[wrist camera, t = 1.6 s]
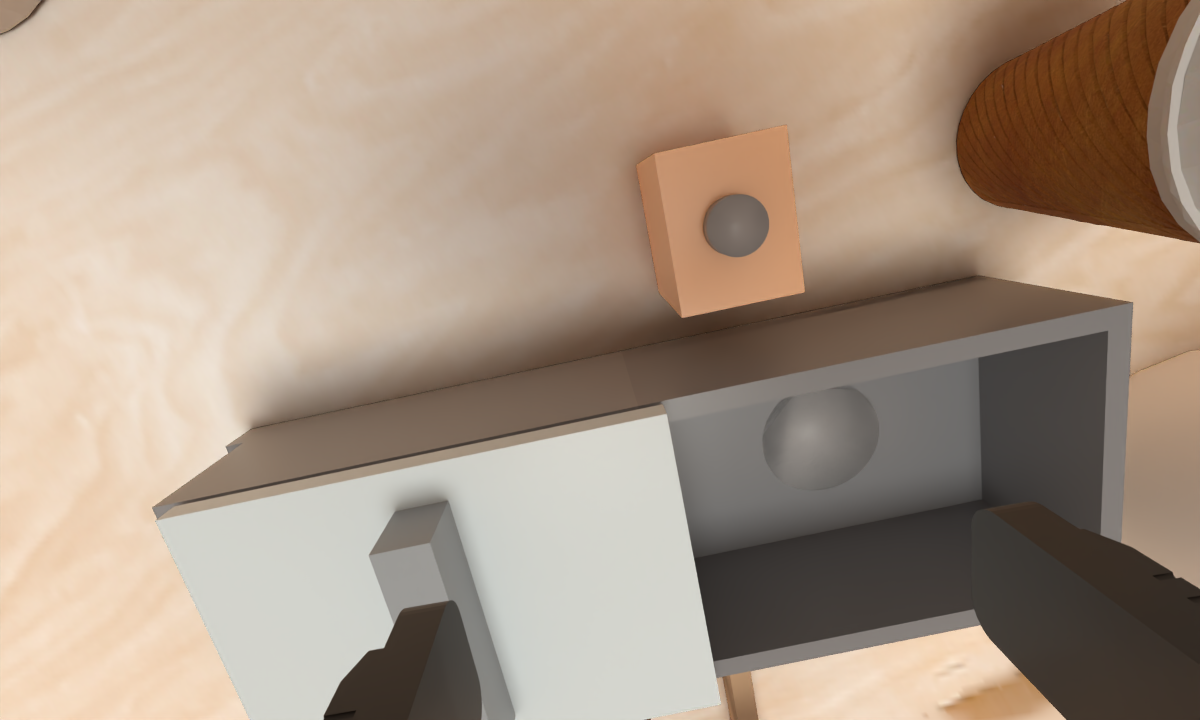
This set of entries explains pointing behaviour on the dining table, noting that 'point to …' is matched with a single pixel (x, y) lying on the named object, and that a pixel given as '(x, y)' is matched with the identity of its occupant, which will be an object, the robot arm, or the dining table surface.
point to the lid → (466, 573)
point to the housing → (807, 450)
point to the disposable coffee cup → (1096, 123)
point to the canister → (1164, 465)
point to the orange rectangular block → (723, 222)
